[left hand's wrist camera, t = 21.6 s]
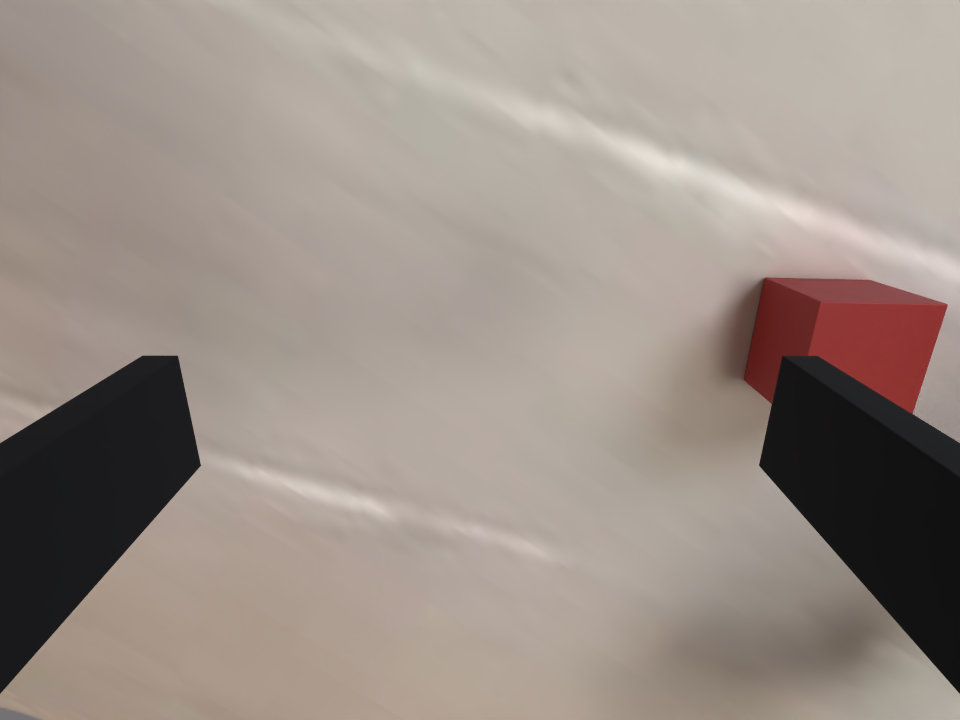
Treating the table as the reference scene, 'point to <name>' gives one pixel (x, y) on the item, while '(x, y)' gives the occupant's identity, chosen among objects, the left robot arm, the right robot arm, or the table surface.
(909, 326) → the block
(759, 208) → the table surface
